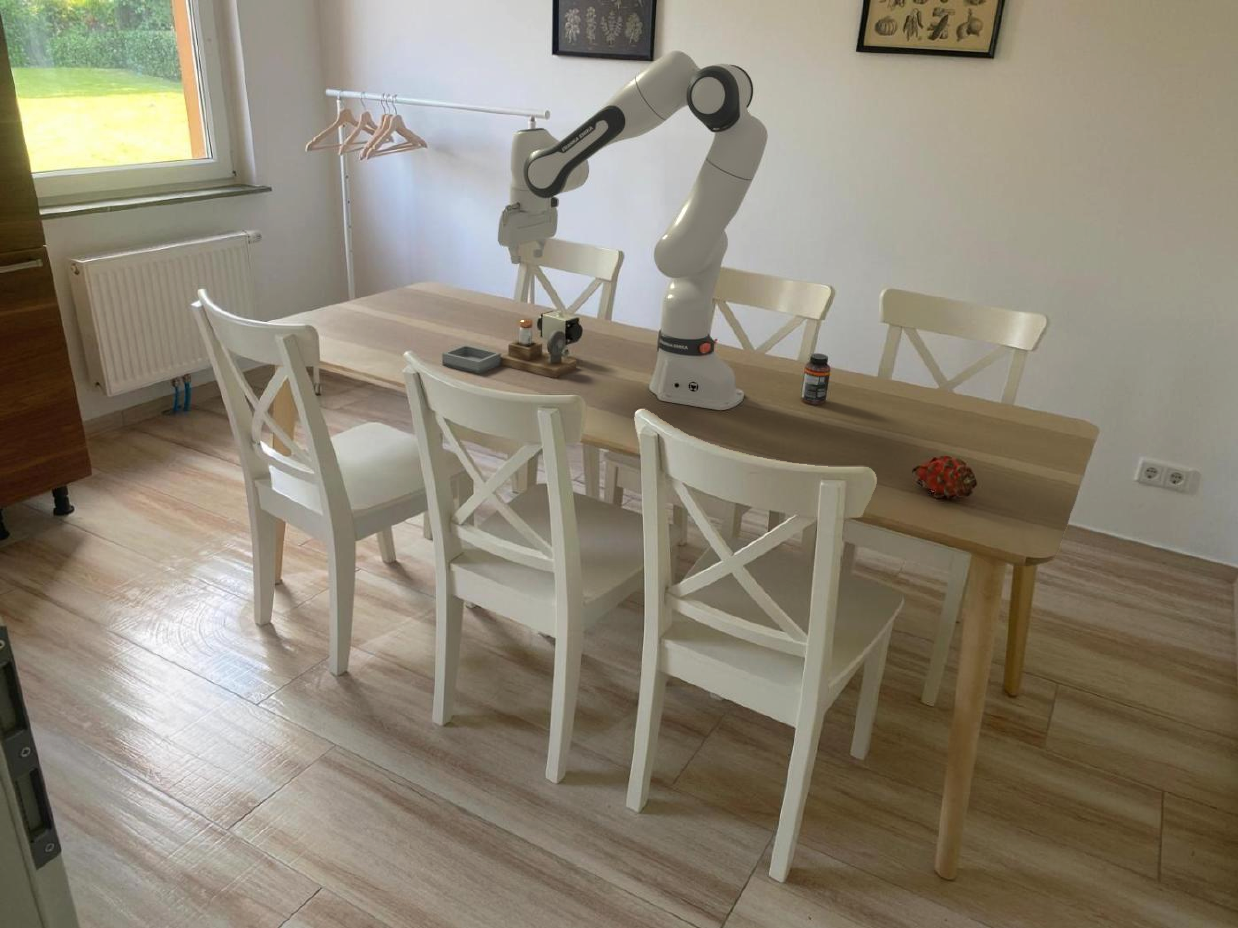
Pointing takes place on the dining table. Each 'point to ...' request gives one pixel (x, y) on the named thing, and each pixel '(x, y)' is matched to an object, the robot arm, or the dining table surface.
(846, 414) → the dining table surface
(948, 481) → the dragon fruit
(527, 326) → the lock pin
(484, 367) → the parts tray
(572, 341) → the pneumatic valve
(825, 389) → the supplement bottle
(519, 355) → the wooden desk organizer
